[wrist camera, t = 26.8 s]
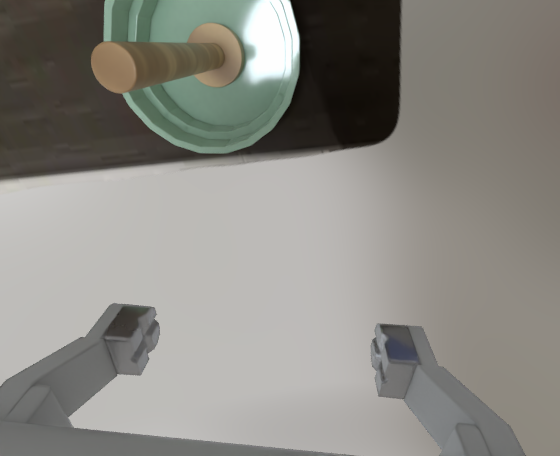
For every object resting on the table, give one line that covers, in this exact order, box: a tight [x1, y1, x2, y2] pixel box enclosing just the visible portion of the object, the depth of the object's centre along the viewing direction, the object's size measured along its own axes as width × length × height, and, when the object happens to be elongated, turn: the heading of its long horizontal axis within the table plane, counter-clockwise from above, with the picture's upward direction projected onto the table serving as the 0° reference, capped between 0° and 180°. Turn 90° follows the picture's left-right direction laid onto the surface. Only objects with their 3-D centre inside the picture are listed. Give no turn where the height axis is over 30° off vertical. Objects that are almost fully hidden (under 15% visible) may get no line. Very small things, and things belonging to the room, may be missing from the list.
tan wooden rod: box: [91, 23, 245, 93], centre depth 21 cm, size 5×5×18 cm
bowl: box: [104, 0, 301, 153], centre depth 27 cm, size 15×15×6 cm
